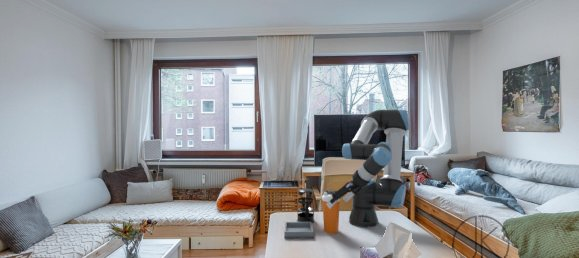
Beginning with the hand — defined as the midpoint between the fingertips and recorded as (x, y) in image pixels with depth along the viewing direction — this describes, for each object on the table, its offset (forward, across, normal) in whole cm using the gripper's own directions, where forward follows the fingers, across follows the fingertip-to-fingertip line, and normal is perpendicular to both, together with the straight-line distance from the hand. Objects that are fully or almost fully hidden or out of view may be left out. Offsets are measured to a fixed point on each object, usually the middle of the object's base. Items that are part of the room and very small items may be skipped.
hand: (336, 203), depth 143 cm
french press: (+28, +5, +7) cm, 29 cm away
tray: (+21, -11, 0) cm, 24 cm away
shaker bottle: (+14, +2, -7) cm, 16 cm away
